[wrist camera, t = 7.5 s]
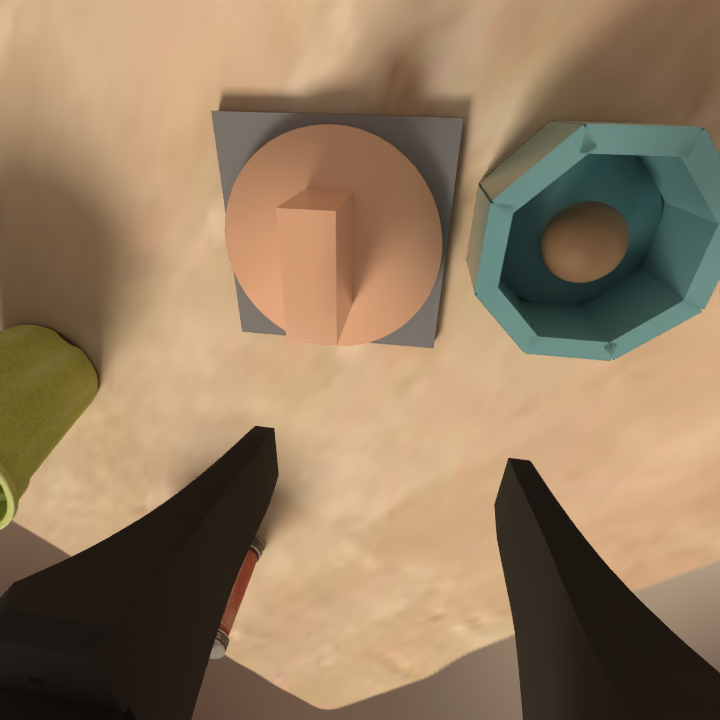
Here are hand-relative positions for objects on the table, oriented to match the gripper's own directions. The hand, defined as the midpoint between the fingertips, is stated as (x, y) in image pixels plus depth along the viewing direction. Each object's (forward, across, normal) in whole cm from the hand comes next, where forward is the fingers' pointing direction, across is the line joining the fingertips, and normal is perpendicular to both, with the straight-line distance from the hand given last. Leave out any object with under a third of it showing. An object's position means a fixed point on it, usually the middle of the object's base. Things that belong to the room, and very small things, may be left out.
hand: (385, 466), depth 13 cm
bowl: (+10, -6, -5) cm, 13 cm away
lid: (+9, +4, -4) cm, 11 cm away
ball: (+9, -6, -5) cm, 12 cm away
